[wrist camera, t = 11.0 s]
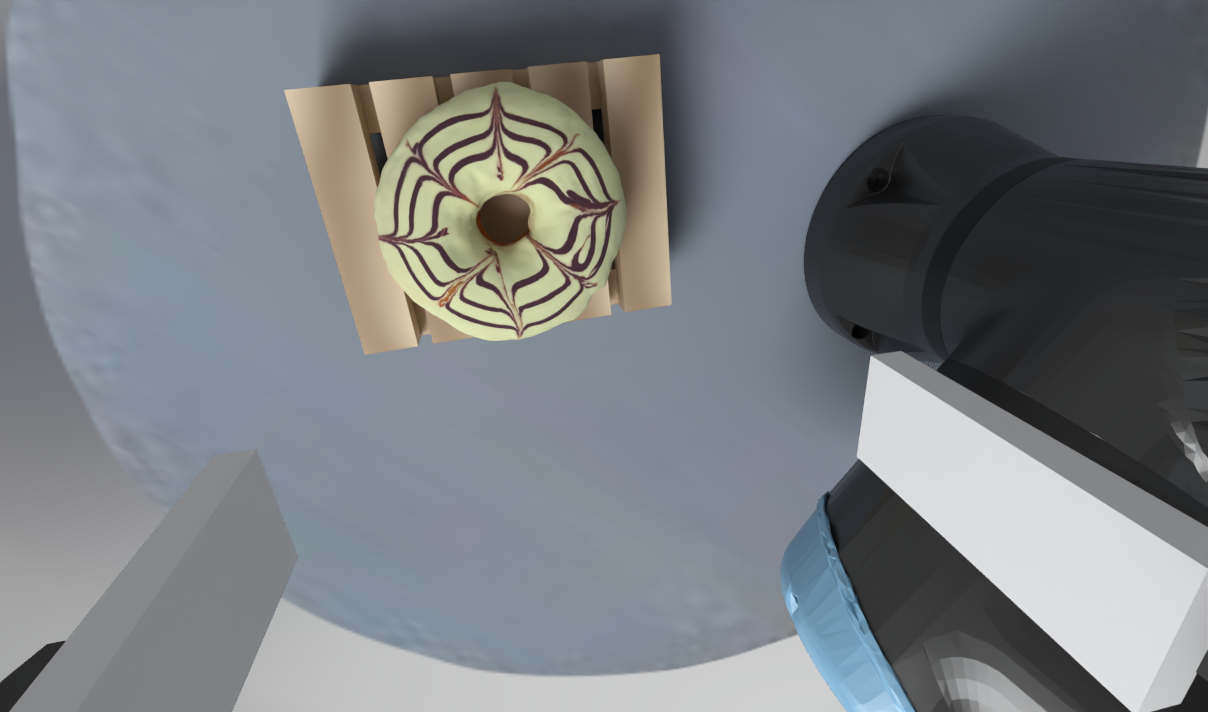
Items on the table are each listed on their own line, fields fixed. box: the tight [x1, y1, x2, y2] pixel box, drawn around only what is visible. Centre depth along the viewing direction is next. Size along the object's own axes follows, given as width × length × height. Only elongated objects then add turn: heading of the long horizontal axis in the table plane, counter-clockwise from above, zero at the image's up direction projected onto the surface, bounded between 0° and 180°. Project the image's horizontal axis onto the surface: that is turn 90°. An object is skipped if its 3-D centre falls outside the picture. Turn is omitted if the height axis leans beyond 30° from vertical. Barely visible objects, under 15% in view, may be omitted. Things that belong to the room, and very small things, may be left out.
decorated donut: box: [374, 82, 627, 341], centre depth 25 cm, size 10×11×4 cm
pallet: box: [284, 54, 671, 355], centre depth 29 cm, size 16×12×5 cm
